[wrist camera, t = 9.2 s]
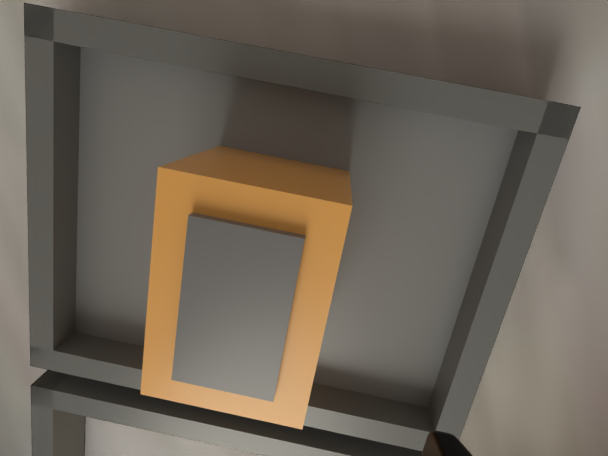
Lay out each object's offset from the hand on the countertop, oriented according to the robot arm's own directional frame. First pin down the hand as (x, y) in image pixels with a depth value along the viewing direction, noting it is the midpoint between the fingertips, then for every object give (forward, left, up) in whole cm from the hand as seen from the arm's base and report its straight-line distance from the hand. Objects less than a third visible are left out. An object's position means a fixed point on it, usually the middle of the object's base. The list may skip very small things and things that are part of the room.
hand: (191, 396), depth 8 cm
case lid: (0, 0, -10) cm, 10 cm away
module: (0, 0, -9) cm, 9 cm away
